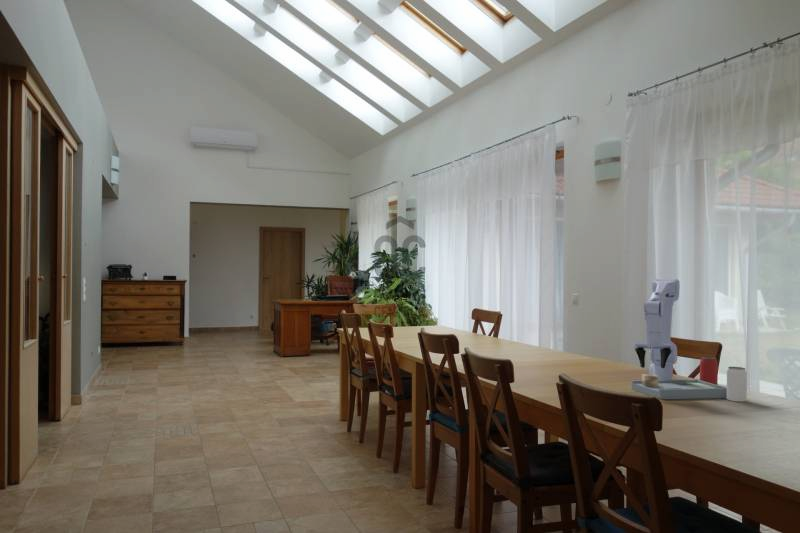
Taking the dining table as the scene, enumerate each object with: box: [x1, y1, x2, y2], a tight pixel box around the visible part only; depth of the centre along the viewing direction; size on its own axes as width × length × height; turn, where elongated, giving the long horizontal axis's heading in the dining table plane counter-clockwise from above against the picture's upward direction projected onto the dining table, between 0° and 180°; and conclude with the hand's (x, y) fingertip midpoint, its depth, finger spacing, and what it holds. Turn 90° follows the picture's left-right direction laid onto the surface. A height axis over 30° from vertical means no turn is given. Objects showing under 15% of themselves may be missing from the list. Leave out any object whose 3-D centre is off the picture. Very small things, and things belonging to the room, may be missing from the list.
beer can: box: [699, 356, 719, 385], centre depth 255 cm, size 7×7×12 cm
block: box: [641, 373, 658, 387], centre depth 241 cm, size 5×5×4 cm
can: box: [725, 366, 748, 403], centre depth 228 cm, size 6×6×12 cm
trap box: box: [631, 379, 727, 400], centre depth 240 cm, size 19×29×4 cm, turn 100°
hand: (652, 367), depth 238 cm, fingers open, 7 cm apart
